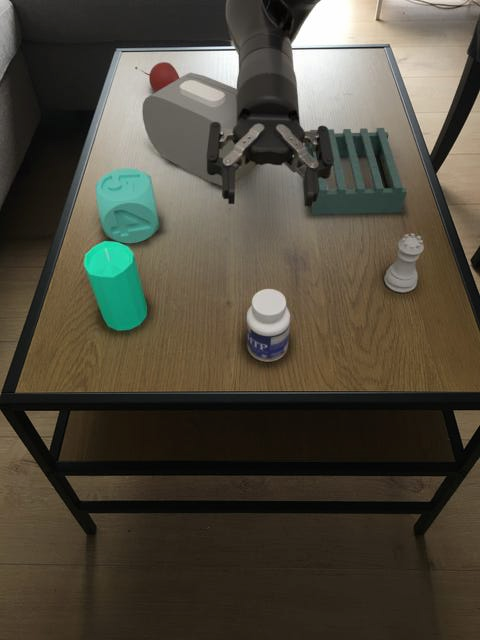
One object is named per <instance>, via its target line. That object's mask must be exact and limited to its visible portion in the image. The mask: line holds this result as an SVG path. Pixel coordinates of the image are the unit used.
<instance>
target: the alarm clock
mask: <svg viewBox="0 0 480 640" xmlns="http://www.w3.org/2000/svg"><path fill="white" fill-rule="evenodd" d="M236 93H237V87H233V86H231V85H228V84H225V83H223V82H221V81H218V80H215V79H213V78H210V77H208V76H205V75H202V74H198V73H194V72H189V73H186V74H185V75H183V76H181V77H179V79H178V80H176V81H174V82H172V83H171V84H169V85H167V86H166V87H164V88H162V89H161V90H159V91H157V92H155V91H154V93H152V94H151V95H149V96H147V97H145V99H144V100H143V103H142V109H141V111H142V112H141V113H142V120H143V125H144V130H145V131H146V134H147V137H148V139H149V141H150V143H151V144H152V146H153V148H154V149H155V150H156V151H157V153H159V154H160V155H161V156H162V157H163V158H165V159H166V160H168V161H170V162H171V163H172V164H174V165H176V166H178V167H180V168H182V169H185V170H186V171H188V172H190V173H192V174H193V175H196V176H198V177H200V178H202V179H205V180H206V181H208V182H210V183H213V184H216V185H219V186H221V187H222V177H221V176H220V175H218V174H215V175H209V174H208V173H207V149H208V140H209V132H210V124H211V123H212V122H219V123H220V125H221V128H226V129H233V128H234V127H235V126H236V124H237V101H236ZM234 146H235V144H234V143H233V141H228V142H227V144H226V146H224V148H223V149H220V150H219V157H220V158H225V157H226V156H227V155H228V154H229V153H230V152H231V151H232V150H233V148H234ZM256 166H257V165H255V162H251V163H250V164H249V165H248V166H247V167H246V168H245V169H244V170H243V171H239V172H238V173H237V174H236V175H235V183H236V182H237V181H238V180H239V179H241V178H242V177H243V176H245V175H246V174H247V173H249V172H250V171H251V170H253V169H254V168H255V167H256Z"/></svg>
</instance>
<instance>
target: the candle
mask: <svg viewBox="0 0 480 640" xmlns="http://www.w3.org/2000/svg"><path fill="white" fill-rule="evenodd" d="M83 266H84V269H85V273H86V275H87V278H88V281H89V284H90V286H91V289H92V291H93V294H94V297H95V299H96V302H97V305H98V308H99V311H100V313H101V316H102V318H103V320H104V323H105V324H106V326H107V327H108V328H110V329H113V330H115V331H119V332H120V331H130V330H132V329H135V328H136V327H138V326H141V324H142V323H143V322H144V321H145V319H146V318H147V315H148V306H147V301H146V298H145V294H144V290H143V286H142V282H141V278H140V273H139V270H138V265H137V262H136V257H135V254H134V252H133V251H132V249H131V248H130V247H129V246H128V245H125V244H124V243H122V242H118V241H111V240H104V241H102V242H100V243H98V244H96V245H94V246H92V247H91V248H90V250H89V251H88V252H86V253H85V255H84V260H83Z"/></svg>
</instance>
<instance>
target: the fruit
mask: <svg viewBox="0 0 480 640" xmlns="http://www.w3.org/2000/svg"><path fill="white" fill-rule="evenodd" d="M134 69H135V70H137V69H138V66H135V67H134ZM140 71H141V72H142V73H144V74H145V75H147V76H148V81H149V84H150V87H151V89H152V90H153V91H154V93H155V92H157V91H159V90H161V89H162V88H164V87H166V86H167V85H169V84H171V83H172V82H174V81H176V80H178V79H179V78H180V76H179V73H178V71H177V70H176V68H175V67H174V66H173V65H172V64H171V62H167V61H163V62H158V63H156V64H155V65H153V67H152V68H151V70H150V72H149V73H148V72H145V71H144V70H142V69H140Z"/></svg>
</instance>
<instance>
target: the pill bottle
mask: <svg viewBox="0 0 480 640" xmlns="http://www.w3.org/2000/svg"><path fill="white" fill-rule="evenodd" d="M290 327H291V312H290V311H289V309H288V307H287V300H286V297H285V295H284V294H283V293H282V292H280V291H279V290H276V289H273V288H265V289H261V290H259V291H257V292H256V293H255V294H254V295H253V296H252V299H251V305H250V306H249V308H248V310H247V312H246V347H247V350H248V352H249V354H250V355H251V356H252V357H253V358H255V359H256V360H257V361H261V362H267V363H269V362H274V361H277V360H280V359H281V358H283V356H285V354H286V353H287V351H288V349H289V340H290V339H289V338H290V330H291V328H290Z"/></svg>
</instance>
